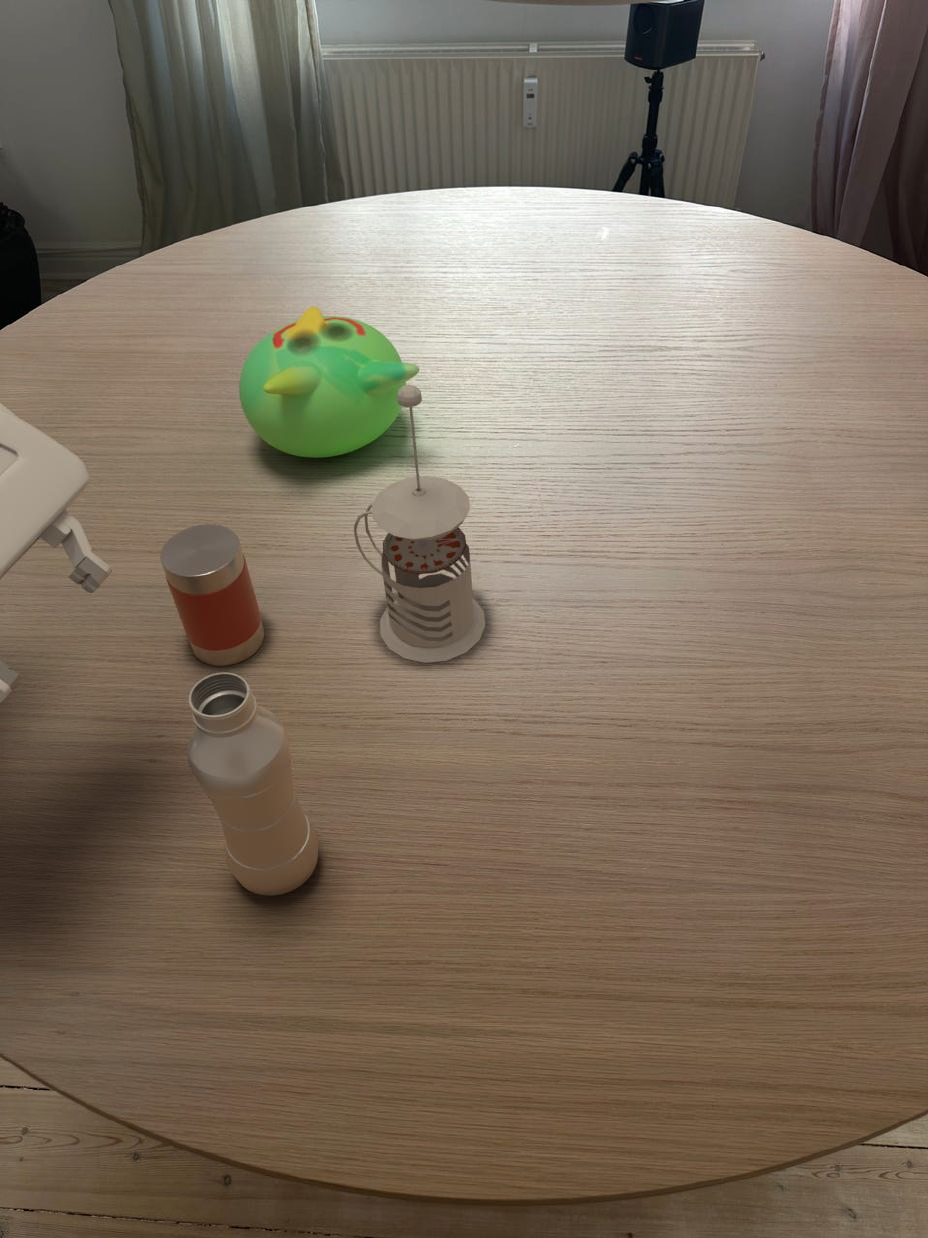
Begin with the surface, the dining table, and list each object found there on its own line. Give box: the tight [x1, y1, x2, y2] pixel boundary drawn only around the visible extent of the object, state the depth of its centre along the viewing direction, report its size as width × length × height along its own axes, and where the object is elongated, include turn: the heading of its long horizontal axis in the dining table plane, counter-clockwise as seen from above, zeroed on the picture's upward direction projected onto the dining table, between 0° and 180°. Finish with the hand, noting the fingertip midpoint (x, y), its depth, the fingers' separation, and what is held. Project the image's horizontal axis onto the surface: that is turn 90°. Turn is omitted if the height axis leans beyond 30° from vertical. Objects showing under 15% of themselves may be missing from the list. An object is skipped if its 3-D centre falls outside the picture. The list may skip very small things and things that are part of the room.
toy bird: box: [238, 306, 420, 459], centre depth 106 cm, size 18×17×15 cm
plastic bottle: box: [187, 671, 319, 897], centre depth 66 cm, size 6×7×20 cm
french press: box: [353, 384, 486, 664], centre depth 82 cm, size 10×12×25 cm
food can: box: [159, 523, 265, 667], centre depth 86 cm, size 7×7×11 cm
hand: (59, 633), depth 60 cm, fingers open, 8 cm apart
